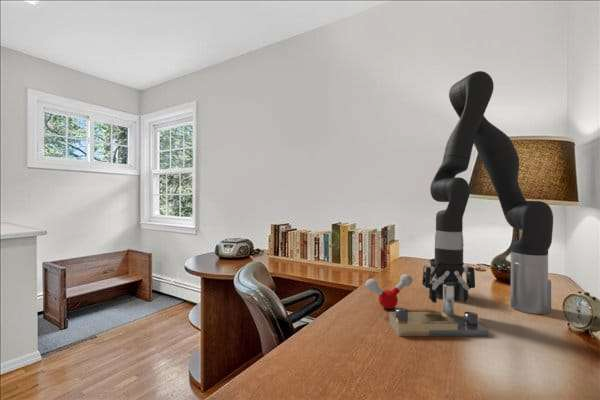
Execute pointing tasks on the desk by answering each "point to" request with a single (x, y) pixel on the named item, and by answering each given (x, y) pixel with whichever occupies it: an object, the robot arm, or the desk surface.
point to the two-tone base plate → (434, 324)
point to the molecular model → (388, 291)
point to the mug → (440, 287)
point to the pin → (448, 298)
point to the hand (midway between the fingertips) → (448, 302)
